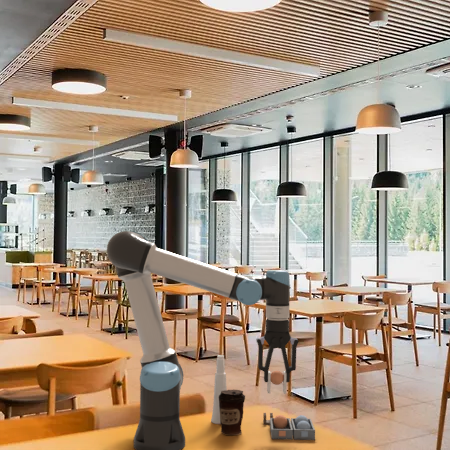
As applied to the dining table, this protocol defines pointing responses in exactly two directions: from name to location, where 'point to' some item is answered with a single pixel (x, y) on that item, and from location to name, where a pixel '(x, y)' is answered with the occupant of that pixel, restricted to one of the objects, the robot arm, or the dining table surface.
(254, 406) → the dining table surface
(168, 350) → the robot arm
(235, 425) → the coffee cup
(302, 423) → the slate ball
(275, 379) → the orange ball
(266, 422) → the ball stand
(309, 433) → the grey sorting trays
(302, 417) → the slate ball
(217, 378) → the cosmetic bottle
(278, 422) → the rust ball
